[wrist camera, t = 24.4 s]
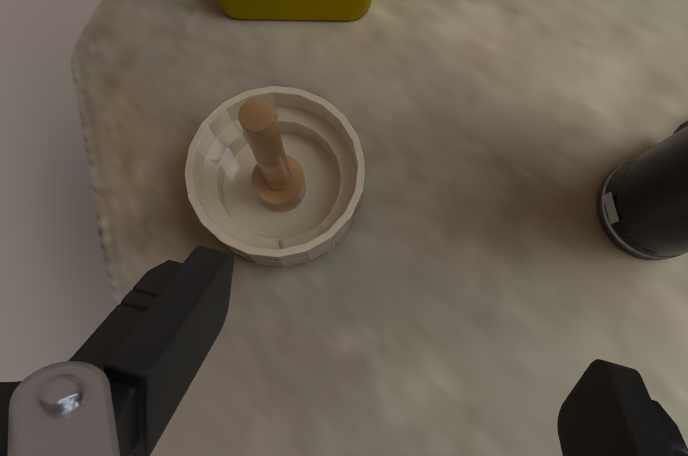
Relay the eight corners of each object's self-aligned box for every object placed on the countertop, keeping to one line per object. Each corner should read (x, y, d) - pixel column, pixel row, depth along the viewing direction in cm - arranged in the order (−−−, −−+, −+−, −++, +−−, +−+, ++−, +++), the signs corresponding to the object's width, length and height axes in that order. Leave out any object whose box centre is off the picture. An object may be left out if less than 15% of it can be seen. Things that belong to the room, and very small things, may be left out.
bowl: (279, 89, 48) (272, 54, 42) (392, 184, 46) (401, 162, 40) (171, 195, 45) (147, 173, 39) (286, 300, 43) (278, 294, 38)
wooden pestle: (280, 155, 46) (255, 68, 31) (316, 186, 45) (307, 112, 30) (246, 190, 45) (204, 116, 30) (282, 222, 44) (257, 163, 30)
